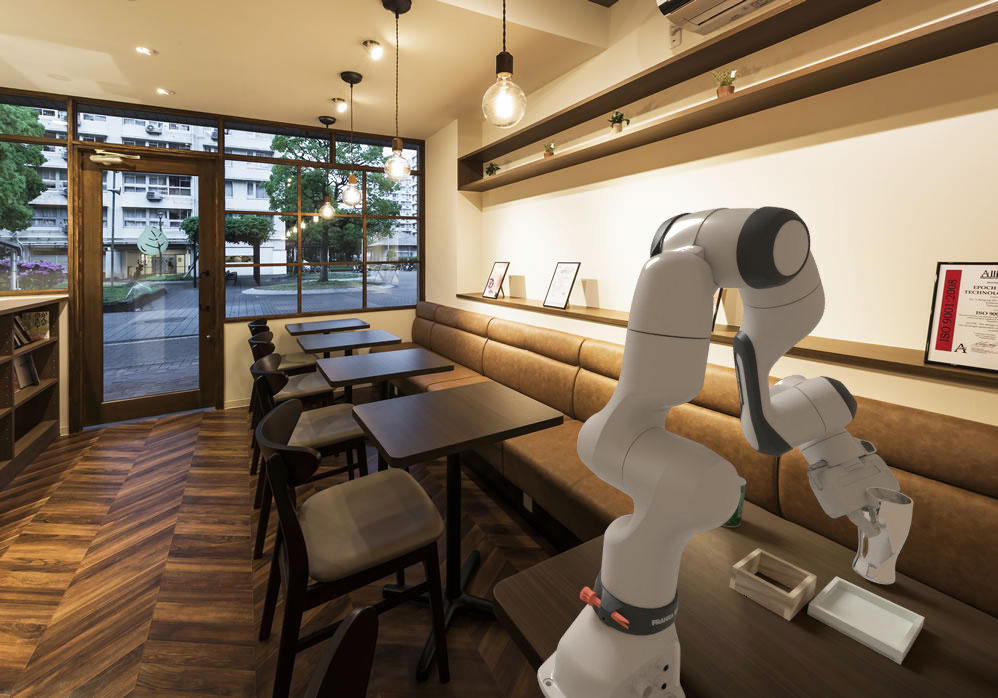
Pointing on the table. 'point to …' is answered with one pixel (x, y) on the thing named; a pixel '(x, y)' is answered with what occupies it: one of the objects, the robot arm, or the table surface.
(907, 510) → the beer glass
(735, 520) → the canned tomato
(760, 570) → the square frame
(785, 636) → the table surface
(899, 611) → the tray
